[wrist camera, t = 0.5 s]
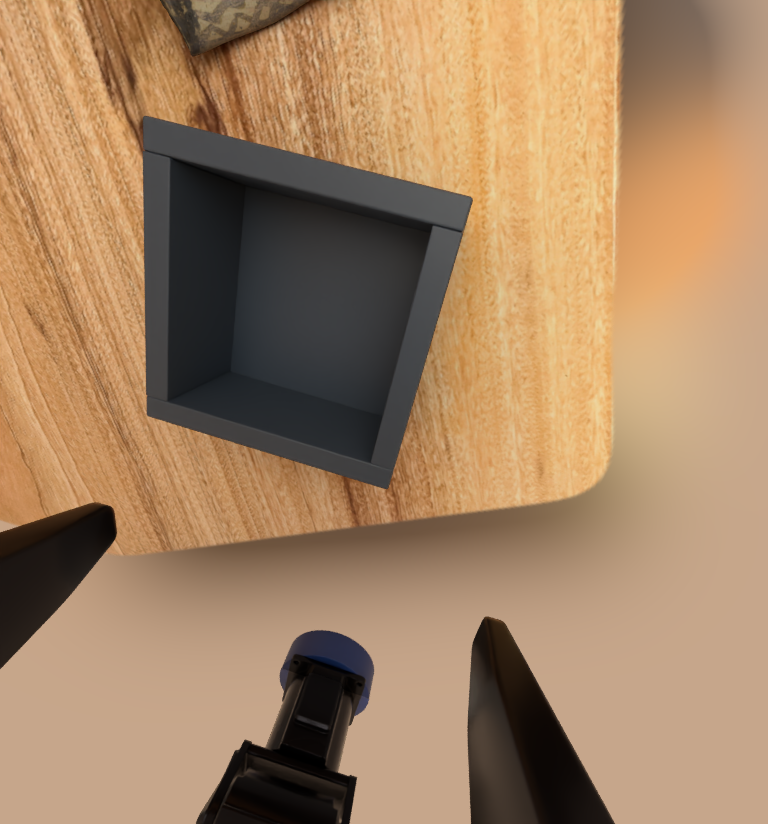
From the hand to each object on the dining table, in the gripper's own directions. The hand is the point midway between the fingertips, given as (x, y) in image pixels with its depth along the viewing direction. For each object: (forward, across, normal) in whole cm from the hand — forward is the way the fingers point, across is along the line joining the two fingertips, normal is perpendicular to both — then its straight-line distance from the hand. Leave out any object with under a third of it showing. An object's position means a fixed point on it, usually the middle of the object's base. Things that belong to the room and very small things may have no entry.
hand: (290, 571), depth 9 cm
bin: (+13, +4, -3) cm, 14 cm away
